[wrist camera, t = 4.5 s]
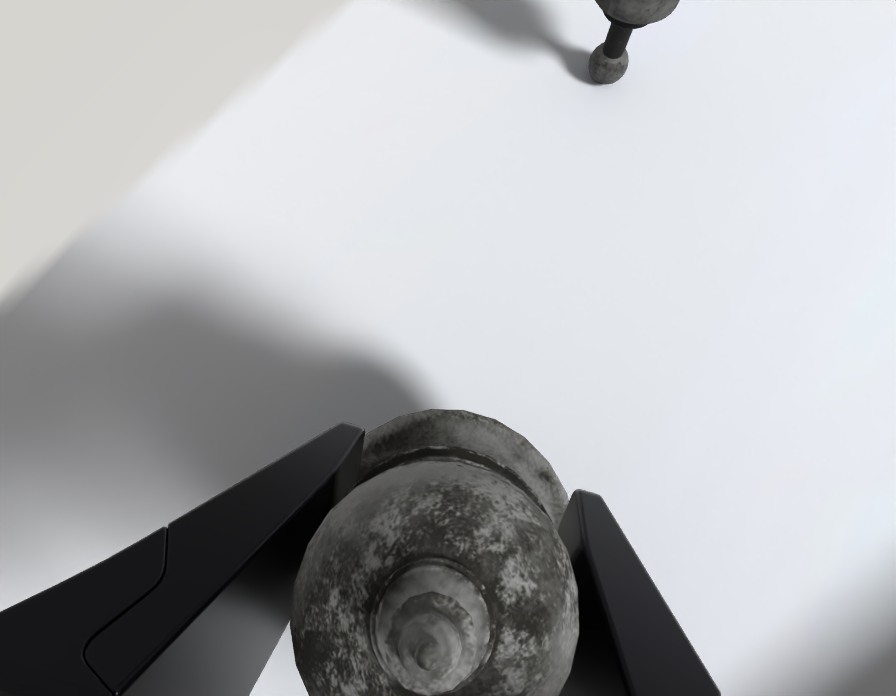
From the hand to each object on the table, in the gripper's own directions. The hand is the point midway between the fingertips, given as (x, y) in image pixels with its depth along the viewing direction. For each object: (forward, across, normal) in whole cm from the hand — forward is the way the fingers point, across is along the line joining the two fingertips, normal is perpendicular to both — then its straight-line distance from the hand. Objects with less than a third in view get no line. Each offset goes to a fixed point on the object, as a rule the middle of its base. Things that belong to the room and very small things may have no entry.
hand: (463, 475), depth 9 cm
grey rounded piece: (+4, 0, +6) cm, 7 cm away
